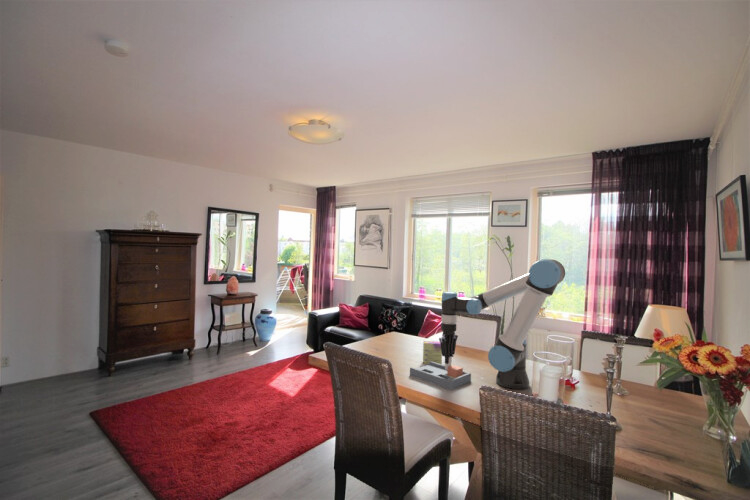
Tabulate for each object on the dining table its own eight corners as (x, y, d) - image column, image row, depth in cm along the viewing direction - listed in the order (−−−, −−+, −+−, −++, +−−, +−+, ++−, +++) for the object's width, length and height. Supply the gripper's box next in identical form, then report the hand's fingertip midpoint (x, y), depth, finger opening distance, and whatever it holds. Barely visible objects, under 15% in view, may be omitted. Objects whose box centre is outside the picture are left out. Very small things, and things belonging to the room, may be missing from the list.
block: (462, 375, 176) (462, 367, 176) (456, 378, 172) (456, 369, 172) (453, 373, 180) (453, 365, 180) (447, 375, 176) (447, 367, 176)
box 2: (470, 381, 175) (470, 373, 175) (450, 390, 164) (450, 381, 164) (430, 368, 194) (430, 361, 194) (409, 375, 182) (409, 367, 182)
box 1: (440, 361, 206) (441, 341, 207) (441, 364, 201) (442, 343, 201) (422, 360, 207) (423, 340, 208) (423, 363, 202) (423, 343, 202)
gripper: (450, 320, 187) (449, 365, 186) (434, 323, 178) (434, 370, 178) (462, 322, 181) (461, 368, 181) (447, 325, 172) (446, 374, 172)
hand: (448, 369), depth 179 cm, fingers closed
